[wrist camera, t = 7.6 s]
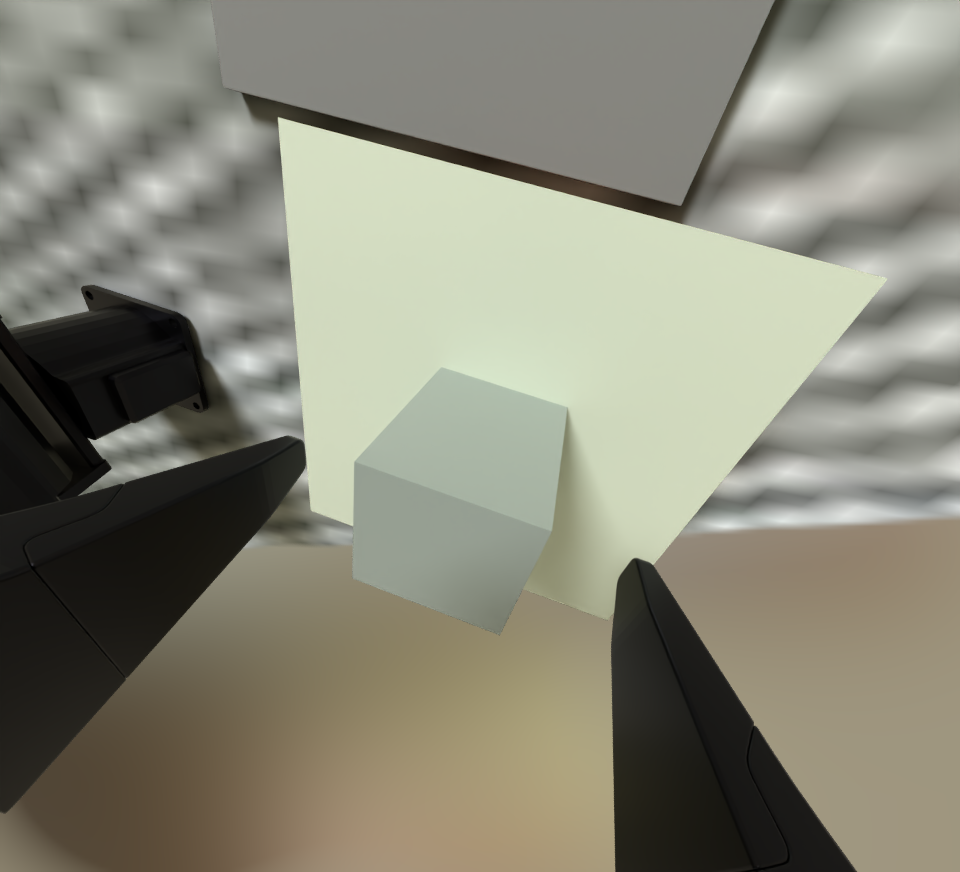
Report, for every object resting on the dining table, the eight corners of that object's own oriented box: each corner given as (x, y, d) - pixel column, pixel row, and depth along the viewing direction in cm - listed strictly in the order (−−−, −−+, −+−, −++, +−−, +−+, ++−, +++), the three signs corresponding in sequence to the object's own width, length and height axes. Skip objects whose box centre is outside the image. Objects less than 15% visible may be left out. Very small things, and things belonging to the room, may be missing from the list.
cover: (326, 493, 18) (220, 609, 13) (309, 125, 10) (4, 44, 5) (606, 595, 16) (612, 769, 11) (853, 270, 8) (1239, 369, 3)
